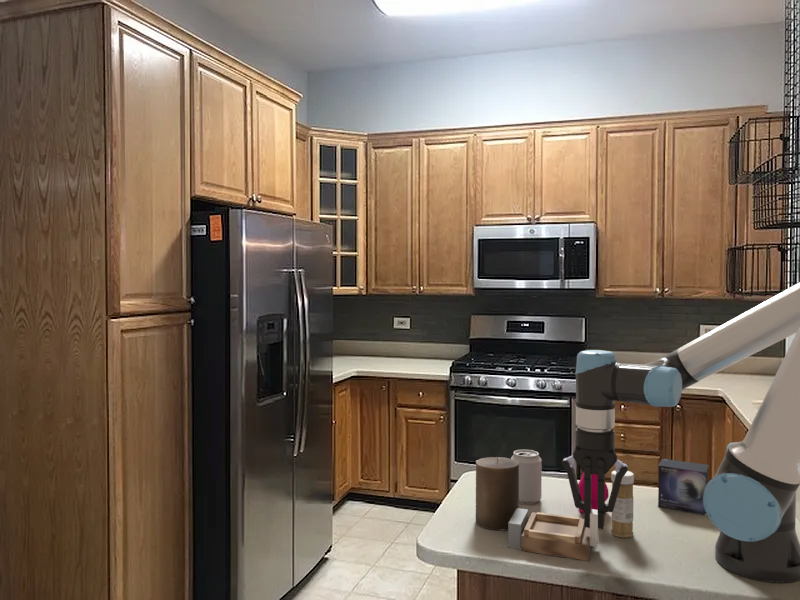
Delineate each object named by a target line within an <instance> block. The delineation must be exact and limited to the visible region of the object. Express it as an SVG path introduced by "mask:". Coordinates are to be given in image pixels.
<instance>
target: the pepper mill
mask: <svg viewBox="0 0 800 600" xmlns="http://www.w3.org/2000/svg"><path fill="white" fill-rule="evenodd" d="M582 472H583V471H582ZM578 486H579V490H580V494H581V499H582V501H584V472H583V473H582V475H581V478H580V480H579V481H578ZM609 497H610V494H609V488H608V484H607V483H606V482H605V502H606V501H607V500H609V499H608V498H609ZM591 509H594V510H598V475H596V474H592V484H591ZM578 512H580V513H582V514H584V511H583V510H582V509H580V508H578ZM606 513H607V512H606ZM606 513H605V514H606ZM605 514H604V515H605Z"/></svg>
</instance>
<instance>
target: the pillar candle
mask: <svg viewBox="0 0 800 600" xmlns="http://www.w3.org/2000/svg"><path fill="white" fill-rule="evenodd" d="M517 508H520V503H519V463H518V462H517V461H515V460H513V459H511V458H508V457H500V456H499V457H498V456H496V457H495V456H494V457H493V456H490V457H482V458H479V459H477V460H475V523H476V524H477V525H478V526H480V527H482V528H485V529H487V530H491V531H492V530H493V531H506V530H508V523H509V521H510V519H511V517H512V516H513V514H514V512H515V510H516V509H517Z"/></svg>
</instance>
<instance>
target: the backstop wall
mask: <svg viewBox="0 0 800 600" xmlns="http://www.w3.org/2000/svg"><path fill="white" fill-rule="evenodd" d="M528 520H529V509H527V508H520V507H519V508H517V509H516V510H515V512H514V514H513V516H512V517H511V519H510V521H509V523H508V532H507V533H508V537H507V538H508V539H507V540H508V541H507V544H508V548H513V549H519V550H521V535H522V533H523V531H524V528H525V526H526V524H527V522H528Z"/></svg>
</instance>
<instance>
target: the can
mask: <svg viewBox="0 0 800 600" xmlns="http://www.w3.org/2000/svg"><path fill="white" fill-rule="evenodd" d="M510 459H513V460H515V461H517V462H518V463H519V504H521V503H523V504H522V505H534V504H537V503H538V502H539V501H540V500H541V499H542V477H543V476H542V473H543V470H542V469H543V468H542V465H543V464H542V462H543V461H542V458H541V457H540V453H539V452H538V451H535V450H533V449H517V450H514V451H513V455H511V458H510ZM536 502H537V503H536ZM533 503H534V504H533Z"/></svg>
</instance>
